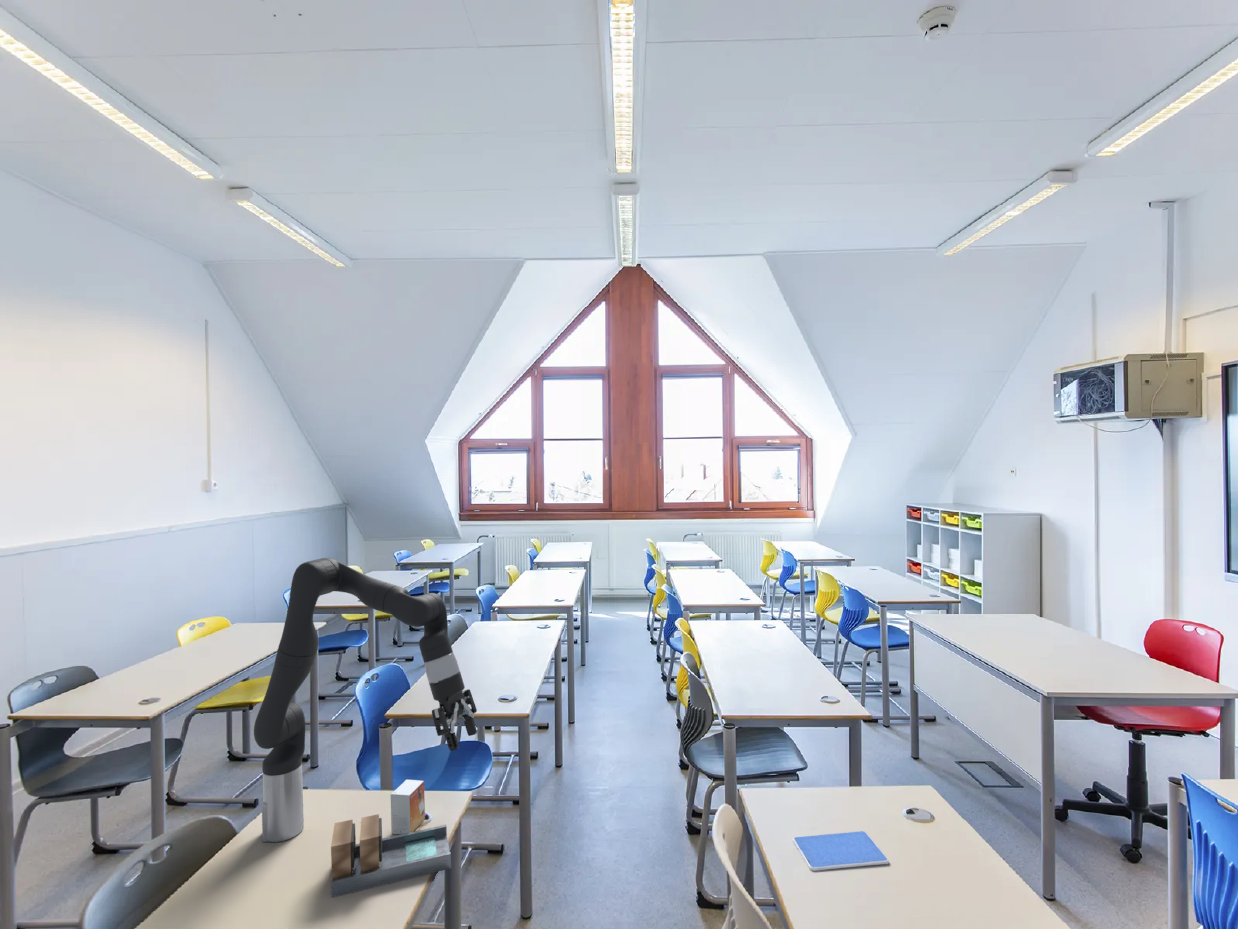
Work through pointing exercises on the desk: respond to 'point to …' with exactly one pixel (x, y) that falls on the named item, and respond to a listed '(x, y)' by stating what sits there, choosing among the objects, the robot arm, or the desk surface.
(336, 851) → the twin brown uprights
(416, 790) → the small box
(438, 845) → the grey shallow tray
